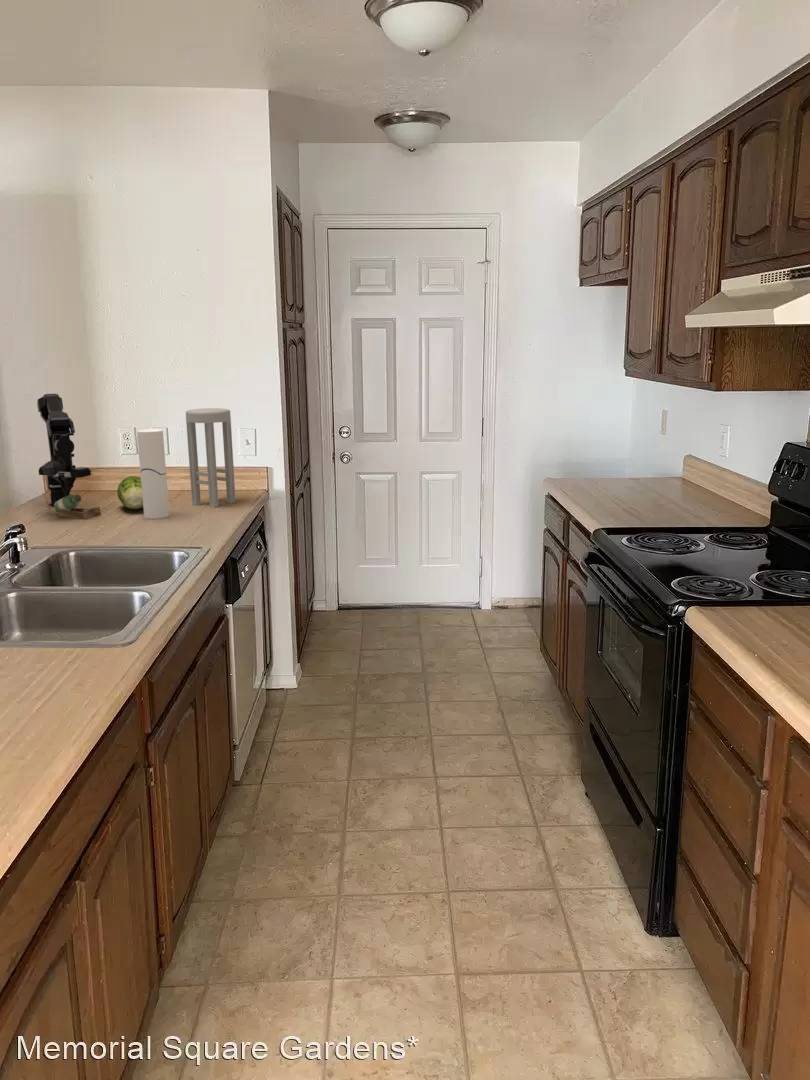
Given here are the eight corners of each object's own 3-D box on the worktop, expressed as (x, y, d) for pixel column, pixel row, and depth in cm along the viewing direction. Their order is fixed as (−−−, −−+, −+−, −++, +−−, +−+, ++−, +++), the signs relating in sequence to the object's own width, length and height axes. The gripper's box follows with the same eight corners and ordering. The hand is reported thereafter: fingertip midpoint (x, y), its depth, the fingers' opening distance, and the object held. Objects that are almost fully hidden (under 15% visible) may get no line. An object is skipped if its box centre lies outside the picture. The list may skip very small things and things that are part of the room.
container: (162, 519, 289) (155, 432, 282) (139, 518, 291) (132, 431, 284) (173, 513, 298) (167, 429, 290) (151, 513, 299) (144, 429, 292)
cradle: (73, 512, 301) (72, 504, 300) (100, 515, 297) (99, 506, 296) (59, 516, 295) (58, 508, 294) (86, 519, 291) (86, 510, 290)
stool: (214, 509, 305) (208, 412, 297) (184, 504, 313) (177, 410, 305) (243, 501, 318) (238, 409, 310) (213, 498, 326) (207, 407, 318)
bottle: (62, 499, 300) (80, 490, 296) (68, 512, 301) (86, 502, 296) (51, 502, 296) (69, 492, 292) (57, 514, 297) (75, 505, 292)
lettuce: (119, 516, 295) (117, 484, 292) (118, 505, 314) (115, 475, 311) (153, 513, 299) (151, 482, 296) (150, 503, 318) (147, 473, 315)
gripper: (24, 453, 288) (29, 497, 292) (66, 456, 282) (71, 501, 285) (48, 449, 298) (53, 492, 302) (89, 451, 292) (94, 495, 295)
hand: (67, 495), depth 296 cm, fingers closed
